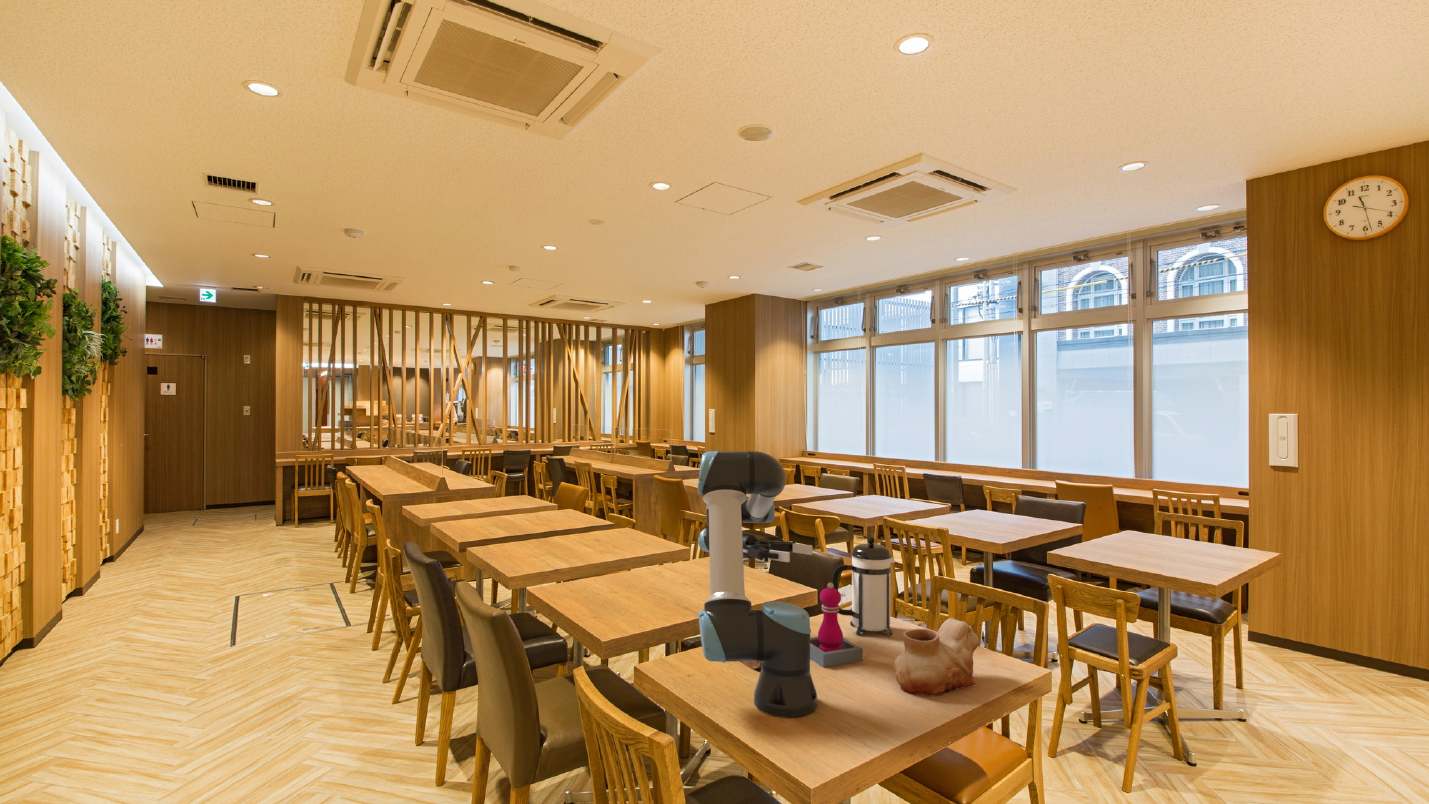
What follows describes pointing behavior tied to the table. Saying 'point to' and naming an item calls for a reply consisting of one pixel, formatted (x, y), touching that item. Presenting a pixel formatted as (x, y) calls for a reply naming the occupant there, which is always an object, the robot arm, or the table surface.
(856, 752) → the table surface
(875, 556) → the coffee press
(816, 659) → the charcoal tray
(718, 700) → the table surface
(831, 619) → the pepper mill
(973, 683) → the ceramic vessel
